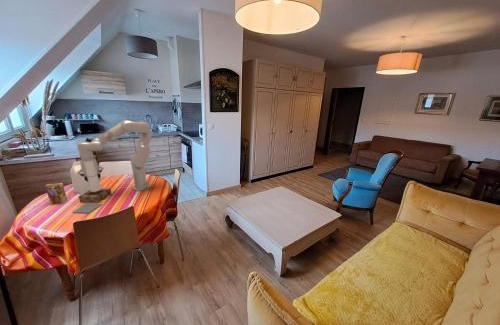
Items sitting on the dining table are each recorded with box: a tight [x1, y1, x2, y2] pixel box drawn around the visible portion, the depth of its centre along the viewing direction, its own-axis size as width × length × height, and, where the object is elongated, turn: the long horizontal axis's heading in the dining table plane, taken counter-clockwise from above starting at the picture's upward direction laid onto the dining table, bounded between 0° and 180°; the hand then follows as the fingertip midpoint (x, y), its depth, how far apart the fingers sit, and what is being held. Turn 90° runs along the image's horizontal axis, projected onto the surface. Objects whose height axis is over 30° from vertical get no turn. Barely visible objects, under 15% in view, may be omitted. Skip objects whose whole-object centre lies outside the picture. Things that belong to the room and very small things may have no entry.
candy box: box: [44, 182, 68, 205], centre depth 149 cm, size 9×4×15 cm, turn 107°
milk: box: [69, 160, 90, 195], centre depth 168 cm, size 12×12×26 cm
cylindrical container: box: [84, 160, 102, 192], centre depth 154 cm, size 7×7×25 cm
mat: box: [72, 202, 103, 215], centre depth 144 cm, size 12×12×1 cm
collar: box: [78, 187, 113, 204], centre depth 159 cm, size 15×15×5 cm
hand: (93, 179), depth 155 cm, fingers closed on cylindrical container, 7 cm apart
